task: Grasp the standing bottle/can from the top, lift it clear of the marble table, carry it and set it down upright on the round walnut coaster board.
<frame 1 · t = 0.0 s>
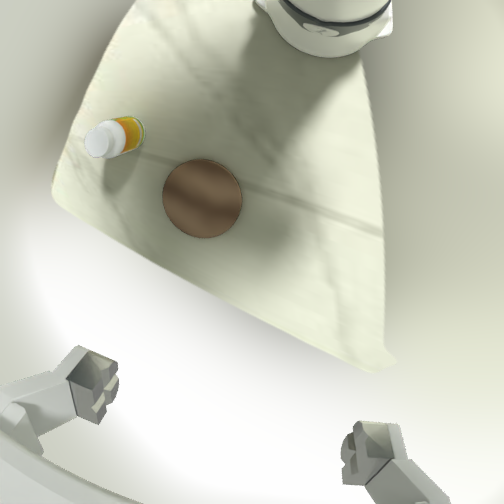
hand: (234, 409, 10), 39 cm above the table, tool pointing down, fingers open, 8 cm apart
walnut coaster: (202, 198, 48), on the table
supplement bottle: (131, 132, 45), on the table
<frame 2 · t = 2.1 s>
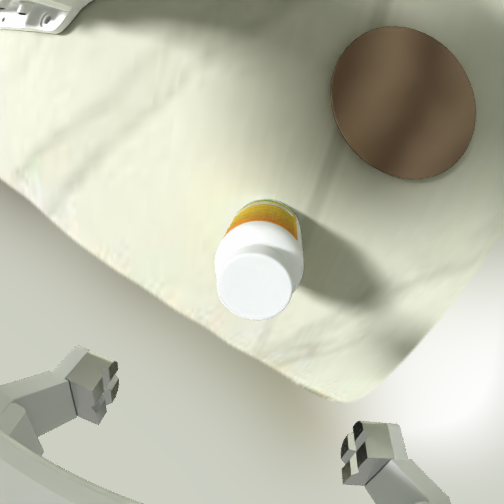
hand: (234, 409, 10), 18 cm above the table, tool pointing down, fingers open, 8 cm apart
walnut coaster: (406, 101, 21), on the table
supplement bottle: (266, 230, 26), on the table
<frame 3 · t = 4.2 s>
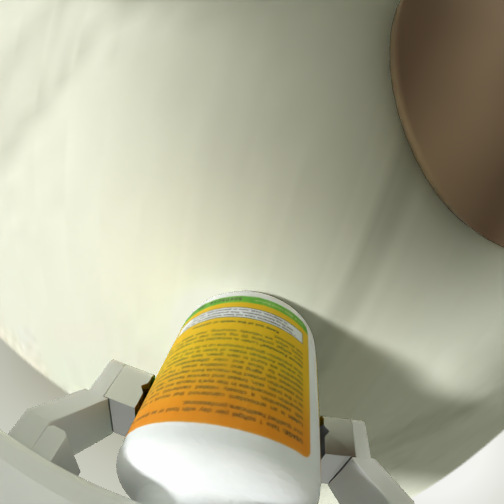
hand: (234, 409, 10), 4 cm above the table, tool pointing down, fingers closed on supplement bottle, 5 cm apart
supplement bottle: (248, 342, 13), on the table, touching gripper
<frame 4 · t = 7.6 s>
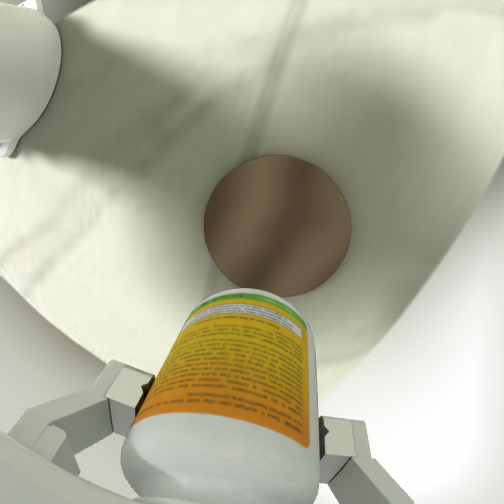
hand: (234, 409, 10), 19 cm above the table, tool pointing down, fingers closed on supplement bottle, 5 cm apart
walnut coaster: (277, 227, 27), on the table
supplement bottle: (249, 339, 13), point 15 cm above the table, touching gripper
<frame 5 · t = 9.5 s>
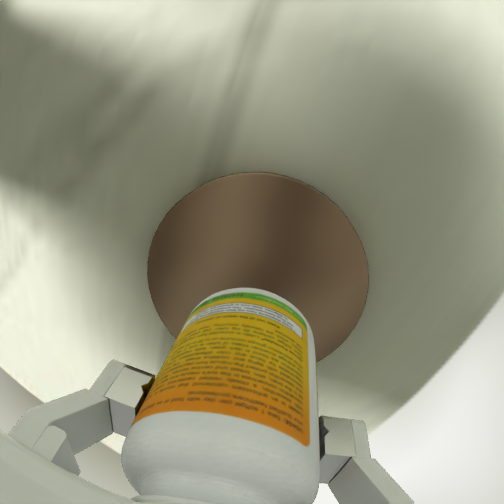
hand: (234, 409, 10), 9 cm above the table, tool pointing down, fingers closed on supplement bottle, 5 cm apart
walnut coaster: (256, 281, 18), on the table
supplement bottle: (249, 338, 13), point 5 cm above the table, touching gripper
when the fingers open (6 cm above the table, at t = 11.0 s): supplement bottle drops 1 cm, resting on walnut coaster.
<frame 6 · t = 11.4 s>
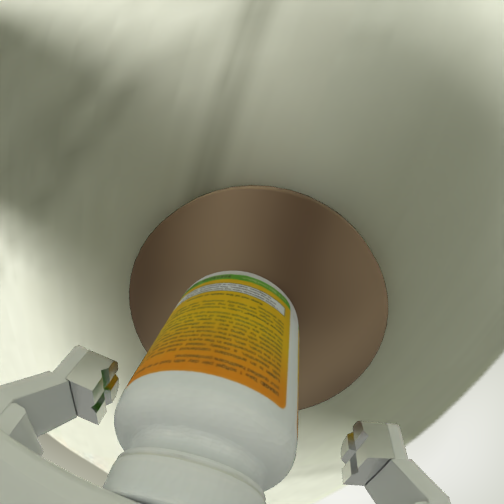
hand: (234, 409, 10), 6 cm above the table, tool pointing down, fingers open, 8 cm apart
walnut coaster: (256, 314, 15), on the table
supplement bottle: (238, 320, 14), point 1 cm above the table, touching walnut coaster
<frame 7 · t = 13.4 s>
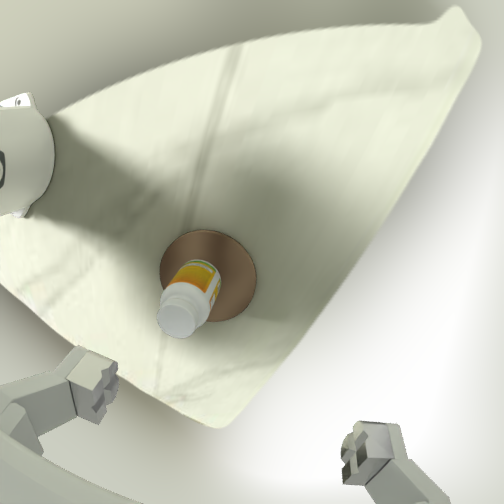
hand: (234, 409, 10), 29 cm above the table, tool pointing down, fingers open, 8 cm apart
walnut coaster: (207, 276, 40), on the table
supplement bottle: (200, 278, 39), point 1 cm above the table, touching walnut coaster
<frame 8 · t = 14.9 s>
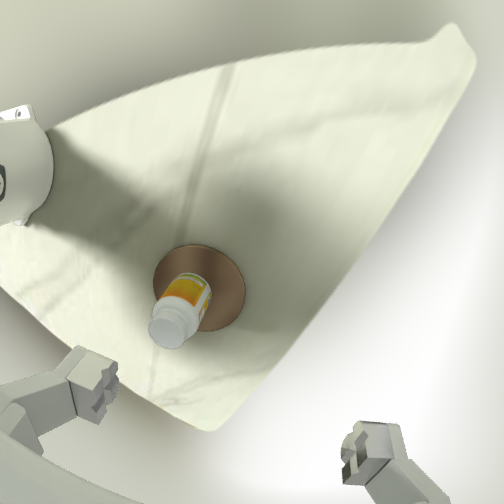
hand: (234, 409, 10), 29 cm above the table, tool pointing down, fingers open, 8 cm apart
walnut coaster: (199, 288, 42), on the table
supplement bottle: (192, 290, 41), point 1 cm above the table, touching walnut coaster
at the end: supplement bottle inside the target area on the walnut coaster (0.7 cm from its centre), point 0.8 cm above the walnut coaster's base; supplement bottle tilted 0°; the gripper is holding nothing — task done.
